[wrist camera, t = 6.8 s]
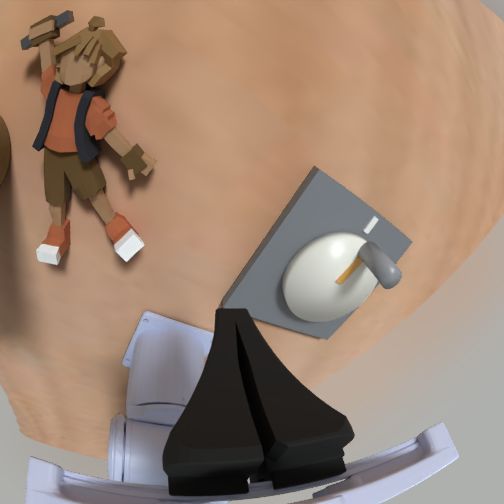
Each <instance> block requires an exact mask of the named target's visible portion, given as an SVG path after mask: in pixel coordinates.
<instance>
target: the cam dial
mask: <svg viewBox="0 0 504 504" xmlns="http://www.w3.org/2000/svg"><path fill="white" fill-rule="evenodd" d="M401 277H402V272H401V271H400V269H399V268H398V267H397V266H396V265H395V264H394V263H393V262H392V261H391V260H390V259H389V257H388V256H387V255H386V254H385V253H384V252H383V251H382V250H381V249H380V248H379V247H378V246H377V245H376V244H375V243H374V242H372V241H369V242H367V241H366V240H365V239H364V238H362V237H361V236H359V235H357V234H354V233H351V232H332V233H328V234H325V235H322V236H320V237H318V238H316V239H314V240H312V241H310V242H309V243H307V244H306V245H305V246H303V247H302V248H301V249H300V250H299V251H298V252H297V253H296V254H295V255H294V256H293V258H292V259H291V260H290V262H289V264H288V265H287V267H286V270H285V272H284V275H283V280H282V290H283V294H284V297H285V299H286V302H287V305H288V307H289V308H290V310H291V311H292V312H293V314H295V315H296V316H297V317H299V318H301V319H303V320H306V321H310V322H326V321H331V320H334V319H338V318H340V317H342V316H345V315H346V314H348V313H350V312H352V311H353V310H355V309H356V308H357V307H359V306H360V305H361V304H362V303H363V302H364V301H365V300H366V299H367V298H368V296H369V295H370V294H371V292H372V291H373V289H374V288H375V286H376V284H377V281H379V282H380V284H381V285H382V286H383V288H385V289H390V288H393V287H394V286H396V285H397V284H398V283H399V281H400V279H401Z"/></svg>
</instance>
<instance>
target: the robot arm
mask: <svg viewBox="0 0 504 504" xmlns="http://www.w3.org/2000/svg"><path fill="white" fill-rule="evenodd" d="M145 319H147V320H145ZM207 355H208V357H207V361H206V364H205V357H206V356H207ZM122 365H124V366H126V367H129V368H130V371H129V379H128V387H127V397H126V419H125V418H124V415H123V414H117V417H114V418H112V419H111V425H110V435H109V449H108V477H109V478H110V480H108V479H103V478H98V477H93V476H88V475H83V474H79V473H75V472H71V471H67V470H63V469H62V468H61V467H60V466H58V465H56V464H53V463H50V462H48V461H44V460H41V459H38V458H35V457H32V456H31V457H30V458H29V466H28V476H27V486H26V487H27V488H26V504H228V502H229V501H232V500H242V499H252V498H260V497H267V496H274V495H280V494H285V493H290V492H295V491H300V490H304V489H309V488H313V487H317V486H321V485H325V484H329V483H332V482H335V481H339V480H342V479H345V478H346V479H345V480H344V481H341V482H339V483H336V484H333V485H330V486H327V487H326V488H325V489H323V490H321V491H318V492H316V493H313V498H312V499H308V500H304V501H300V502H294V503H290V504H380V503H382V502H384V501H386V500H388V499H390V498H392V497H394V496H396V495H398V494H400V493H402V492H404V491H406V490H408V489H409V488H411V487H413V486H415V485H416V484H418V483H420V482H421V481H423V480H425V479H426V478H428V477H430V476H431V475H433V474H434V473H436V472H438V471H439V470H441V469H442V468H444V467H445V466H447V465H448V464H450V463H451V462H453V461H454V460H456V459H457V458H458V457H459V455H458V453H457V451H456V448H455V446H454V444H453V442H452V440H451V438H450V436H449V434H448V431H447V429H446V427H445V426H444V423H443V422H440V423H438V424H436V425H434V426H432V427H430V428H428V429H426V430H425V431H423V432H422V433H420V434H419V435H418V436H417V437H416V438H413V439H411V440H409V441H407V442H404V443H402V444H400V445H397V446H395V447H392V448H390V449H387V450H385V451H382V452H380V453H377V454H375V455H372V456H369V457H366V458H363V459H360V460H357V461H354V462H351V463H348V464H344V461H343V458H342V457H343V456H344V451H343V447H345V446H346V445H347V444H348V443H349V442H350V441H352V440H353V438H354V432H353V429H352V427H351V425H350V423H349V421H348V419H347V417H346V416H345V415H343V414H341V413H340V412H338V411H337V410H335V409H333V408H332V407H330V406H329V405H327V404H326V403H325V402H324V401H322V400H321V399H319V398H318V397H317V396H316V395H314V394H313V393H312V392H311V391H310V390H309V389H307V388H306V387H305V386H304V385H303V384H302V383H301V382H300V381H299V380H298V379H297V378H296V377H295V376H294V375H293V374H292V373H291V372H290V371H289V370H288V369H287V368H286V367H285V366H284V365H283V363H282V362H281V361H280V360H279V358H278V357H277V356H276V355H275V353H274V352H273V351H272V349H271V348H270V347H269V345H268V344H267V342H266V341H265V339H264V338H263V336H262V335H261V333H260V332H259V330H258V328H257V327H256V325H255V323H254V321H253V319H252V318H251V316H250V314H249V312H248V310H247V309H246V308H218V309H217V310H216V313H215V331H214V333H212V332H209V331H206V330H203V329H200V328H196V327H193V326H190V325H187V324H184V323H181V322H178V321H175V320H172V319H169V318H166V317H163V316H161V315H158V314H155V313H152V312H149V311H145V312H144V313H143V314H142V317H141V319H140V321H139V323H138V326H137V328H136V330H135V332H134V335H133V337H132V339H131V341H130V344H129V346H128V348H127V351H126V353H125V356H124V358H123V360H122ZM249 477H250V484H248V482H247V480H248V478H249Z"/></svg>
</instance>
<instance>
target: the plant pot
mask: <svg viewBox="0 0 504 504" xmlns="http://www.w3.org/2000/svg"><path fill="white" fill-rule="evenodd" d="M9 161H10V139H9V133H8V130H7V127H6V124H5V122H4V120H3V118H2V117H1V116H0V185H1V183H2V181H3V180H4V178H5V176H6V173H7V170H8V167H9Z"/></svg>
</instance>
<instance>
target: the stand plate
mask: <svg viewBox="0 0 504 504" xmlns="http://www.w3.org/2000/svg"><path fill="white" fill-rule="evenodd" d="M332 232H351V233H354V234H357V235H359V236H361V237H362V238H364V239H365V240H366V241H367V242H369V241H372V242H374V243H375V244H376V245H377V246H378V247H379V248H380V249H381V250H382V251H383V252H384V253H385V254H386V255H387V256H388V257H389V259H390V260H391V261H392V262H393V263H394V264H396V263H397V261H398V260H399V259H400V258H401V256H402V255H403V254H404V252H405V251H406V250H407V249H408V247H409V246H410V245H411V243H412V241H411V240H410V239H409V238H408V237H406V236H405V235H404V234H403V233H402V232H401V231H399V230H398V229H397V228H396V227H395V226H393V225H392V224H391V223H390V222H389V221H387V220H386V219H385V218H384V217H383V216H381V215H380V214H379V213H378V212H376V211H375V210H374V209H373V208H371V207H370V206H369V205H367V204H366V203H365V202H364V201H362V200H361V199H360V198H358V197H357V196H356V195H354V194H353V193H352V192H350V191H349V190H348V189H346V188H345V187H344V186H342V185H341V184H339V183H338V182H337V181H335V180H334V179H332V178H331V177H330V176H328V175H327V174H325V173H324V172H322V171H321V170H320V169H318V168H317V167H315V166H314V167H313V168H312V170H311V171H310V173H309V174H308V176H307V177H306V179H305V180H304V182H303V183H302V184H301V186H300V187H299V189H298V190H297V192H296V193H295V195H294V196H293V198H292V199H291V201H290V202H289V203H288V205H287V206H286V208H285V209H284V211H283V212H282V214H281V215H280V217H279V218H278V219H277V221H276V222H275V224H274V225H273V227H272V228H271V230H270V231H269V233H268V234H267V235H266V237H265V238H264V240H263V241H262V243H261V244H260V246H259V247H258V248H257V250H256V251H255V253H254V254H253V256H252V257H251V259H250V260H249V262H248V263H247V264H246V266H245V267H244V269H243V270H242V272H241V273H240V275H239V276H238V277H237V279H236V280H235V282H234V283H233V285H232V286H231V288H230V289H229V291H228V292H227V293H226V295H225V296H224V298H223V299H222V305H223V308H246V309H247V310H248V312H249V314H250V316H251V317H253V318H256V319H259V320H262V321H265V322H268V323H271V324H275V325H278V326H281V327H284V328H288V329H291V330H294V331H298V332H301V333H305V334H308V335H312V336H315V337H319V338H322V339H326V340H327V339H328V338H329V337H330V336H331V335H332V334H333V333H334V332H335V331H336V330H337V329H338V328H339V327H340V326H341V325H342V324H343V323H344V322H345V321H346V320H347V319H348V318H349V317H350V316H351V315H352V313H353V312H354V311H355V310H356V309H357V308H358V307H357V308H356V309H355V310H353V311H352V312H350V313H348V314H346V315H345V316H342V317H340V318H338V319H334V320H331V321H326V322H310V321H306V320H303V319H301V318H299V317H297V316H296V315H295V314H293V312H292V311H291V310H290V308H289V307H288V305H287V302H286V299H285V297H284V294H283V290H282V280H283V275H284V272H285V270H286V267H287V265H288V264H289V262H290V260H291V259H292V258H293V256H294V255H295V254H296V253H297V252H298V251H299V250H300V249H301V248H302V247H303V246H305V245H306V244H307V243H309V242H310V241H312V240H314V239H316V238H318V237H320V236H322V235H325V234H328V233H332ZM379 283H380V282H379V281H377V284H376V286H375V288H376V287H377V285H378V284H379ZM375 288H374V289H375ZM374 289H373V290H374Z"/></svg>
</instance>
